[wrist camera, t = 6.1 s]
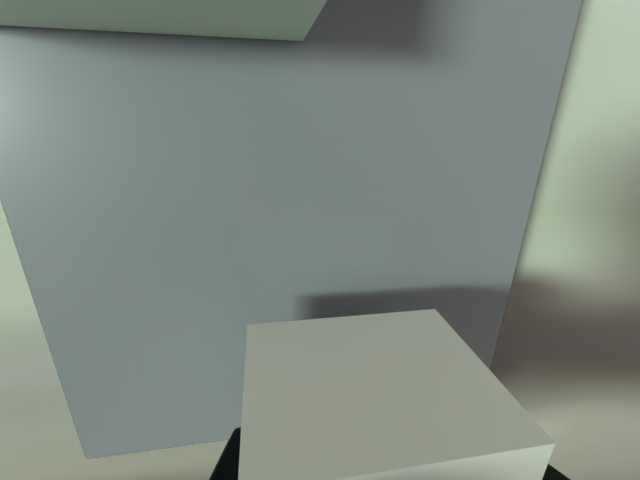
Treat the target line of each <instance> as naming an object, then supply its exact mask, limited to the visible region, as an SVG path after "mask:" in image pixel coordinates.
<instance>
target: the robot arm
mask: <svg viewBox="0 0 640 480" xmlns="http://www.w3.org/2000/svg"><path fill="white" fill-rule="evenodd" d="M240 437H241V427H238V428H235V429H234V431H233V432H232V434H231V436H230V438H229V440H228V442H227V445H226V447H225V449H224V451H223V453H222V455H221V457H220V459H219V461H218V463H217V465H216V467H215V469H214V471H213V473H212V475H211V477H210V479H209V480H238V472H239V455H240ZM542 480H570V479H569V478H567V477H566V476H564V475H563V474H562V473H560V472H559V471H558V470H556V469H555V468H553V467H552V466H551V465H549V464H548V465H547V468H546V470H545V473H544V476H543V478H542Z"/></svg>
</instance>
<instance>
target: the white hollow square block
mask: <svg viewBox="0 0 640 480" xmlns="http://www.w3.org/2000/svg"><path fill="white" fill-rule="evenodd" d="M554 446H555V442H554V441H553V440H552V439H551V438H550V437H549V436H548V435H547V433H546V432H545V431H544V430H543V429H542V428H541V427H540V426H539V424H538V423H537V422H536V421H535V420H534V419H533V418H532V417H531V416H530V414H529V413H528V412H527V411H526V410H525V409H524V408H523V407H522V405H521V404H520V403H519V402H518V401H517V400H516V399H515V398H514V397H513V395H512V394H511V393H510V392H509V391H508V390H507V389H506V388H505V387H504V385H503V384H502V383H501V382H500V381H499V380H498V379H497V378H496V376H495V375H494V374H493V373H492V372H491V371H490V370H489V369H488V368H487V366H486V365H485V364H484V363H483V362H482V361H481V360H480V359H479V357H478V356H477V355H476V354H475V353H474V352H473V351H472V350H471V349H470V347H469V346H468V345H467V344H466V343H465V342H464V341H463V340H462V338H461V337H460V336H459V335H458V334H457V333H456V332H455V331H454V330H453V328H452V327H451V326H450V325H449V324H448V323H447V322H446V321H445V319H444V318H443V317H442V316H441V315H440V314H439V313H438V312H437V311H436V309H428V310H416V311H404V312H392V313H380V314H368V315H356V316H344V317H332V318H321V319H309V320H297V321H285V322H273V323H261V324H249V325H247V334H246V351H245V368H244V385H243V403H242V420H241V437H240V455H239V472H238V480H542V478H543V476H544V473H545V470H546V468H547V465H548V462H549V460H550V457H551V454H552V451H553V449H554Z"/></svg>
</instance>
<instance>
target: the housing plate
mask: <svg viewBox="0 0 640 480" xmlns="http://www.w3.org/2000/svg"><path fill="white" fill-rule="evenodd" d="M581 2H582V0H327V1H326V3H325V5H324V7H323V8H322V10H321V12H320V13H319V15H318V16H317V18H316V20H315V22H314V23H313V25H312V27H311V28H310V30H309V32H308V33H307V35H306V37H305V38H304V40H303V41H289V40H270V39H251V38H232V37H213V36H194V35H175V34H157V33H138V32H119V31H100V30H81V29H62V28H43V27H24V26H5V25H0V200H1V203H2V206H3V209H4V212H5V215H6V218H7V221H8V225H9V228H10V231H11V234H12V237H13V240H14V243H15V246H16V249H17V252H18V255H19V258H20V261H21V264H22V267H23V270H24V273H25V276H26V279H27V282H28V285H29V288H30V291H31V294H32V297H33V300H34V303H35V306H36V309H37V312H38V315H39V318H40V321H41V324H42V328H43V331H44V334H45V337H46V340H47V343H48V346H49V349H50V352H51V355H52V358H53V361H54V364H55V367H56V370H57V373H58V376H59V379H60V382H61V385H62V388H63V391H64V394H65V397H66V400H67V403H68V406H69V409H70V412H71V415H72V418H73V421H74V424H75V427H76V431H77V434H78V437H79V440H80V443H81V446H82V449H83V452H84V455H85V458H86V459H90V458H98V457H105V456H112V455H120V454H127V453H134V452H142V451H149V450H156V449H164V448H171V447H179V446H186V445H193V444H201V443H208V442H215V441H223V440H229V438H230V436H231V434H232V432H233V431H234V429H235V428H238V427H241V420H242V403H243V385H244V368H245V351H246V334H247V325H249V324H261V323H273V322H285V321H297V320H309V319H321V318H332V317H344V316H356V315H368V314H380V313H392V312H404V311H416V310H428V309H436V311H437V312H438V313H439V314H440V315H441V316H442V317H443V318H444V319H445V321H446V322H447V323H448V324H449V325H450V326H451V327H452V328H453V330H454V331H455V332H456V333H457V334H458V335H459V336H460V337H461V338H462V340H463V341H464V342H465V343H466V344H467V345H468V346H469V347H470V349H471V350H472V351H473V352H474V353H475V354H476V355H477V356H478V357H479V359H480V360H481V361H482V362H483V363H484V364H485V365H486V366H487V368H488V369H489V370H490V369H491V365H492V361H493V357H494V353H495V349H496V345H497V341H498V337H499V333H500V329H501V325H502V321H503V317H504V313H505V309H506V305H507V301H508V297H509V293H510V289H511V285H512V281H513V277H514V273H515V269H516V265H517V261H518V256H519V252H520V248H521V244H522V240H523V236H524V232H525V228H526V224H527V220H528V216H529V212H530V208H531V204H532V200H533V196H534V192H535V188H536V184H537V180H538V176H539V172H540V168H541V164H542V160H543V156H544V152H545V148H546V144H547V139H548V135H549V131H550V127H551V123H552V119H553V115H554V111H555V107H556V103H557V99H558V95H559V91H560V87H561V83H562V79H563V75H564V71H565V67H566V63H567V59H568V55H569V51H570V47H571V43H572V39H573V35H574V31H575V27H576V23H577V18H578V14H579V10H580V6H581Z"/></svg>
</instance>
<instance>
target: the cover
mask: <svg viewBox="0 0 640 480" xmlns="http://www.w3.org/2000/svg"><path fill="white" fill-rule="evenodd" d="M326 1H327V0H0V25H5V26H24V27H43V28H62V29H81V30H100V31H119V32H138V33H157V34H175V35H194V36H213V37H232V38H251V39H270V40H289V41H303V40H304V38H305V37H306V35H307V33H308V32H309V30H310V28H311V27H312V25H313V23H314V22H315V20H316V18H317V16H318V15H319V13H320V12H321V10H322V8H323V7H324V5H325V3H326Z"/></svg>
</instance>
